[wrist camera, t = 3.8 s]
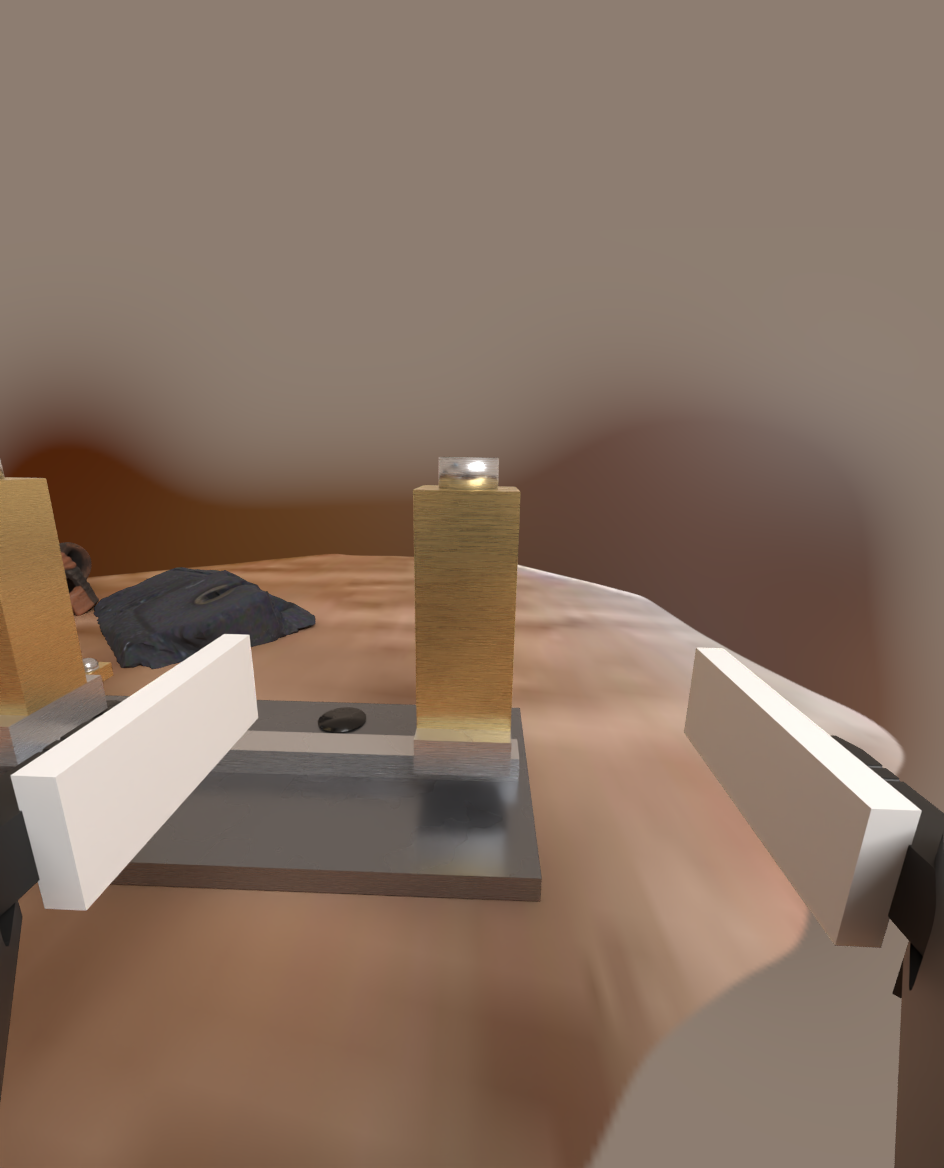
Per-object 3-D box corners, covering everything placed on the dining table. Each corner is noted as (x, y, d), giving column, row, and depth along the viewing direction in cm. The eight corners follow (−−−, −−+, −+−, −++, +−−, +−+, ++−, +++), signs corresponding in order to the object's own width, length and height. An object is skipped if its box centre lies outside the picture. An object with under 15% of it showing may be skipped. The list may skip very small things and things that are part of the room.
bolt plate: (-162, 872, 18) (-328, 444, 14) (93, 709, 30) (40, 450, 26) (540, 901, 17) (568, 458, 13) (519, 723, 29) (531, 458, 25)
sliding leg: (414, 794, 20) (409, 456, 17) (433, 707, 28) (432, 457, 24) (509, 797, 20) (523, 458, 17) (503, 709, 27) (512, 458, 24)
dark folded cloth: (242, 586, 59) (238, 548, 58) (327, 634, 44) (324, 583, 43) (85, 611, 49) (76, 565, 48) (125, 684, 34) (114, 620, 33)
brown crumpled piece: (71, 630, 44) (-10, 559, 40) (-9, 670, 45) (-95, 604, 41) (138, 569, 55) (79, 507, 51) (71, 603, 56) (9, 545, 52)
